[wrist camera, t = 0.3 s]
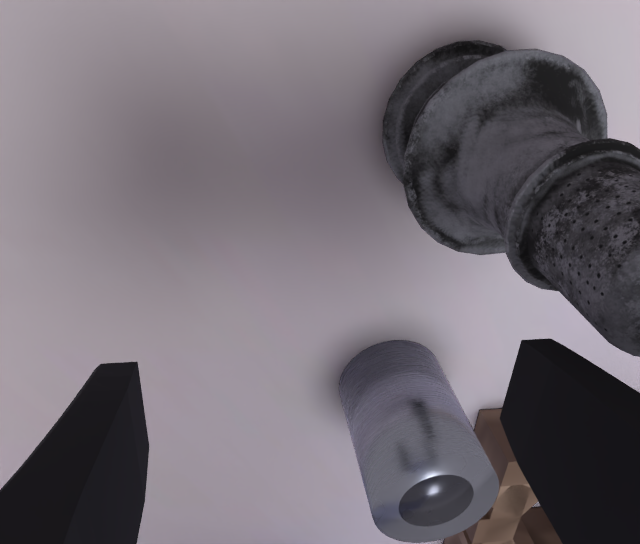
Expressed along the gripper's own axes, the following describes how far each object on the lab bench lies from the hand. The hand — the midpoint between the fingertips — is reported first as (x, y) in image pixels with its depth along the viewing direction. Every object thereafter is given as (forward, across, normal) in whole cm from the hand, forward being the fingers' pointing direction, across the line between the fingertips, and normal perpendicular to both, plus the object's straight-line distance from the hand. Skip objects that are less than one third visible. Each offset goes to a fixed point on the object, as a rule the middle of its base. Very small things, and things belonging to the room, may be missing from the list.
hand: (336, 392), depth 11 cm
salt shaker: (+10, -6, -2) cm, 12 cm away
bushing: (+10, -5, +9) cm, 14 cm away
